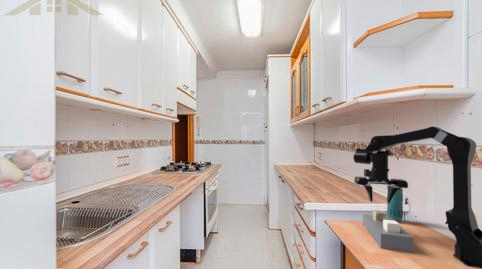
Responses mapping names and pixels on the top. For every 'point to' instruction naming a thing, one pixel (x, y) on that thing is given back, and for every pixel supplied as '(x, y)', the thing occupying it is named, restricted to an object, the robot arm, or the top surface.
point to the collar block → (388, 235)
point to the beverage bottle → (396, 206)
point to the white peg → (391, 226)
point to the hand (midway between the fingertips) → (379, 202)
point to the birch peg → (379, 215)
